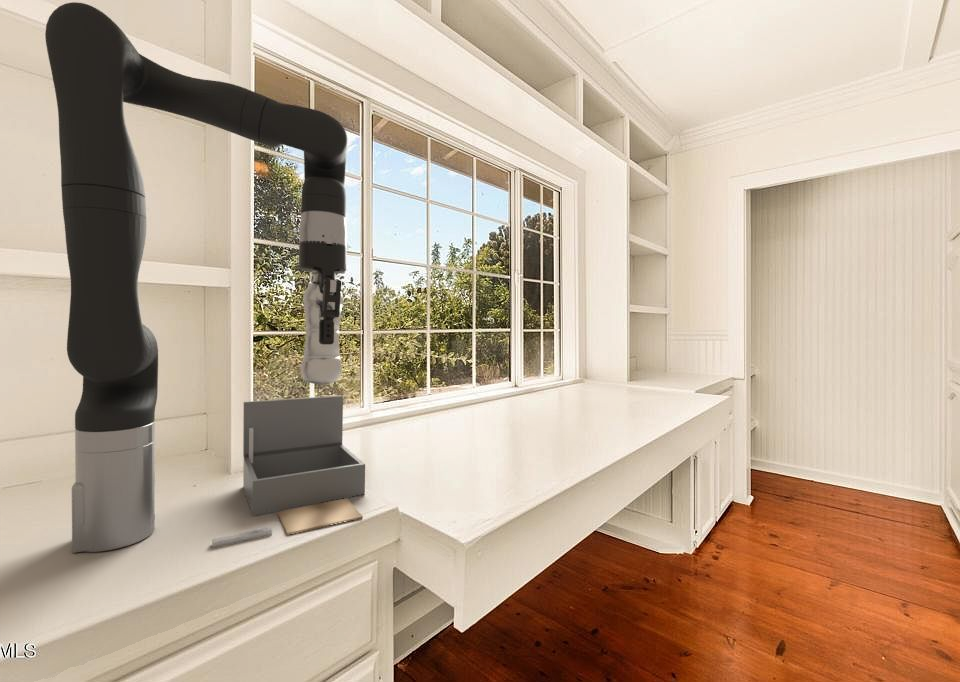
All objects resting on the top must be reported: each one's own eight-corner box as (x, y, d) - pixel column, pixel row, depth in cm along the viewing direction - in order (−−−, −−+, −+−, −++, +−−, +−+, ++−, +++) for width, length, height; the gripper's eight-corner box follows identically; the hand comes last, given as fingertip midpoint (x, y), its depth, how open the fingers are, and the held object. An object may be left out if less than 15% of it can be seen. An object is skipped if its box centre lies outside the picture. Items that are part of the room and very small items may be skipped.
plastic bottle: (291, 384, 74) (293, 264, 73) (323, 380, 80) (325, 269, 79) (319, 388, 71) (321, 262, 70) (350, 383, 77) (352, 268, 76)
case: (252, 516, 75) (253, 417, 75) (243, 485, 89) (243, 401, 89) (364, 494, 86) (366, 408, 86) (340, 470, 100) (342, 395, 99)
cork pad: (287, 535, 69) (287, 532, 69) (277, 513, 77) (277, 511, 77) (362, 518, 76) (362, 516, 76) (347, 500, 83) (347, 498, 83)
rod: (212, 550, 65) (212, 542, 65) (211, 547, 66) (211, 539, 66) (271, 537, 69) (272, 529, 69) (270, 533, 70) (270, 526, 70)
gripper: (291, 246, 78) (289, 341, 79) (309, 233, 66) (307, 345, 67) (334, 251, 82) (332, 341, 83) (358, 240, 70) (356, 345, 71)
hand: (321, 342), depth 75 cm, fingers closed on plastic bottle, 5 cm apart
